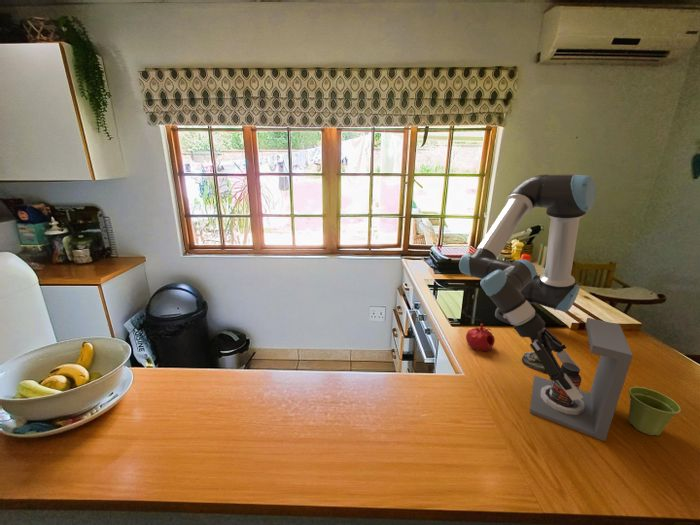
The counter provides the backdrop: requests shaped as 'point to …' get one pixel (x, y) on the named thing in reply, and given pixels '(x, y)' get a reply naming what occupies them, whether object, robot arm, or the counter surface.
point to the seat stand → (609, 378)
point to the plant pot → (650, 410)
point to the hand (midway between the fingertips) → (576, 384)
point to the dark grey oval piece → (533, 361)
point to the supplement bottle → (558, 392)
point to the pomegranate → (480, 338)
